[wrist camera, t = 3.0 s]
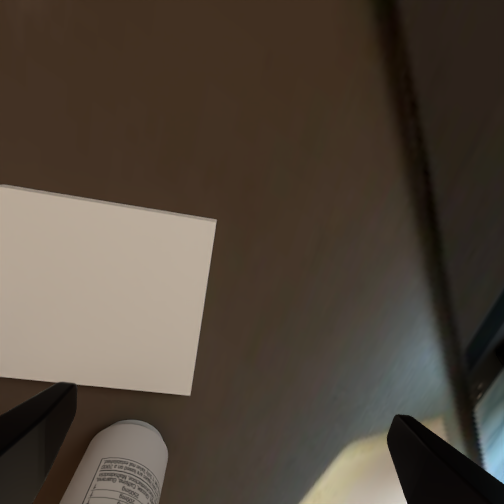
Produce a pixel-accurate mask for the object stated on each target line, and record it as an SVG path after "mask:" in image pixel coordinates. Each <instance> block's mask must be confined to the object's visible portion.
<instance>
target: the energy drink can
mask: <svg viewBox="0 0 504 504" xmlns="http://www.w3.org/2000/svg"><path fill="white" fill-rule="evenodd" d="M167 461H168V451H167V447H166V445H165V443H164V441H163V439H162V437H161V435H160V433H159V432H158V431H157V429H155V428H154V427H153V426H152V425H150V424H148V423H146V422H143V421H139V420H123V421H119V422H116V423H114V424H112V425H111V426H109V427H108V428H106V429H104V430H102V431H100V432H99V433H98V434H97V435H96V436H95V437H94V438H93V439H92V440H91V442H90V444H89V446H88V448H87V450H86V452H85V454H84V456H83V458H82V460H81V462H80V464H79V466H78V468H77V470H76V472H75V474H74V476H73V478H72V480H71V482H70V484H69V486H68V488H67V490H66V492H65V494H64V496H63V498H62V500H61V501H60V503H59V504H158V503H159V498H160V494H161V489H162V484H163V480H164V475H165V470H166V465H167Z"/></svg>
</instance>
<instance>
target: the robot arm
mask: <svg viewBox="0 0 504 504" xmlns="http://www.w3.org/2000/svg"><path fill="white" fill-rule="evenodd" d="M496 356H497V357H498V359H499V360H500V362H501V363H502V364H503V366H504V345H503V346H501V347H500V348H498V349H497V351H496ZM76 408H77V385H76V384H75V383H72V382H58V383H56V384H54V385H53V386H51V387H49V388H47V389H46V390H44V391H42V392H40V393H39V394H37V395H35V396H33V397H32V398H30V399H28V400H26V401H25V402H23V403H21V404H20V405H18V406H16V407H14V408H13V409H11V410H9V411H7V412H6V413H4V414H2V415H0V504H32V503H33V501H34V499H35V498H36V496H37V494H38V492H39V491H40V489H41V487H42V485H43V483H44V481H45V479H46V477H47V475H48V473H49V471H50V469H51V467H52V465H53V462H54V460H55V458H56V456H57V454H58V452H59V450H60V447H61V445H62V443H63V441H64V439H65V437H66V434H67V432H68V430H69V428H70V426H71V424H72V421H73V419H74V417H75V413H76ZM387 444H388V448H389V451H390V454H391V457H392V460H393V463H394V466H395V469H396V472H397V475H398V478H399V481H400V484H401V487H402V490H403V493H404V495H405V498H406V501H407V504H504V484H503V483H502V482H500V481H499V480H497V479H496V478H495V477H493V476H492V475H491V474H489V473H488V472H487V471H485V470H484V469H482V468H481V467H480V466H478V465H477V464H476V463H474V462H473V461H471V460H470V459H469V458H467V457H466V456H465V455H463V454H462V453H461V452H459V451H458V450H456V449H455V448H454V447H452V446H451V445H450V444H448V443H447V442H446V441H444V440H443V439H441V438H440V437H439V436H437V435H436V434H435V433H433V432H432V431H431V430H429V429H428V428H426V427H425V426H424V425H422V424H421V423H420V422H418V421H417V420H416V419H414V418H413V417H411V416H409V415H400V414H398V415H396V416H395V417H394V418H393V421H392V424H391V427H390V430H389V432H388V435H387Z"/></svg>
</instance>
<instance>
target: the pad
mask: <svg viewBox="0 0 504 504" xmlns="http://www.w3.org/2000/svg"><path fill="white" fill-rule="evenodd" d="M216 222H217V220H216V219H210V218H204V217H198V216H192V215H186V214H180V213H174V212H168V211H162V210H155V209H149V208H143V207H137V206H131V205H125V204H119V203H113V202H107V201H101V200H95V199H89V198H83V197H77V196H71V195H65V194H58V193H52V192H46V191H40V190H34V189H28V188H22V187H16V186H10V185H0V377H8V378H18V379H28V380H38V381H48V382H72V383H75V384H78V385H88V386H98V387H108V388H118V389H129V390H139V391H149V392H159V393H169V394H179V395H189V396H190V393H191V388H192V381H193V374H194V368H195V361H196V355H197V348H198V341H199V335H200V328H201V321H202V315H203V308H204V301H205V295H206V288H207V282H208V275H209V268H210V262H211V255H212V248H213V242H214V235H215V228H216Z"/></svg>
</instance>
